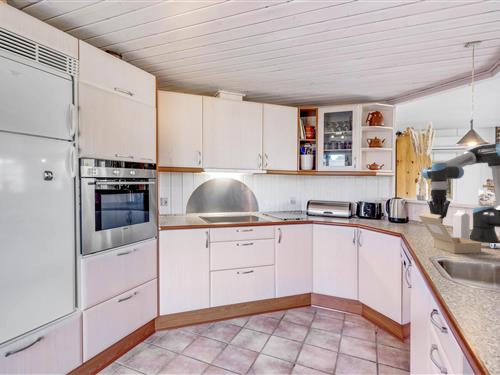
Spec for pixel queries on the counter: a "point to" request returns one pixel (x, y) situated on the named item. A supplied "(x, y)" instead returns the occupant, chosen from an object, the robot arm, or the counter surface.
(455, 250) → the base
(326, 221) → the counter surface
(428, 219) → the lid
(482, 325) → the counter surface
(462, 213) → the milk
